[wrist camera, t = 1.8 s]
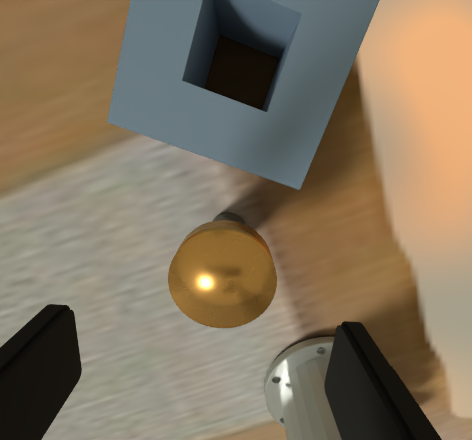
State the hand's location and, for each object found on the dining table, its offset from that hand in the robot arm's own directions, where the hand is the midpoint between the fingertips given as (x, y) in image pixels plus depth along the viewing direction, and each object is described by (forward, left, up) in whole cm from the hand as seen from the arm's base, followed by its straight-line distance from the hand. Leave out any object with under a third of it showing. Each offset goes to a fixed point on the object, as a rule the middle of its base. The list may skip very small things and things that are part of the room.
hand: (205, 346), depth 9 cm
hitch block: (+3, -11, -14) cm, 18 cm away
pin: (0, 0, -14) cm, 14 cm away
